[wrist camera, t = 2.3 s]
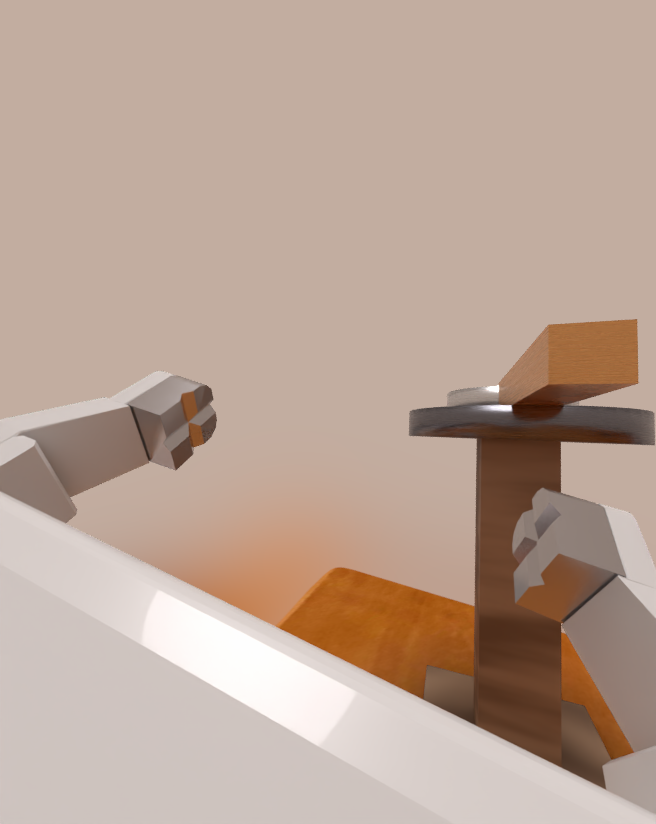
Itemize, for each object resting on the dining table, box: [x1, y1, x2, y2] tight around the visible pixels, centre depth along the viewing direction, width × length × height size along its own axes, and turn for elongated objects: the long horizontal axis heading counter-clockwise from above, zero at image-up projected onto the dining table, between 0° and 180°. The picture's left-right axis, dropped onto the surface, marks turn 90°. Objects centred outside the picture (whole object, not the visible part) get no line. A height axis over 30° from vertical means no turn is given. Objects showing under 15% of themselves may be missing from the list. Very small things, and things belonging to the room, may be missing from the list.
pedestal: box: [409, 405, 655, 789], centre depth 26 cm, size 16×16×26 cm
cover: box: [447, 319, 638, 407], centre depth 23 cm, size 24×10×2 cm, turn 160°
